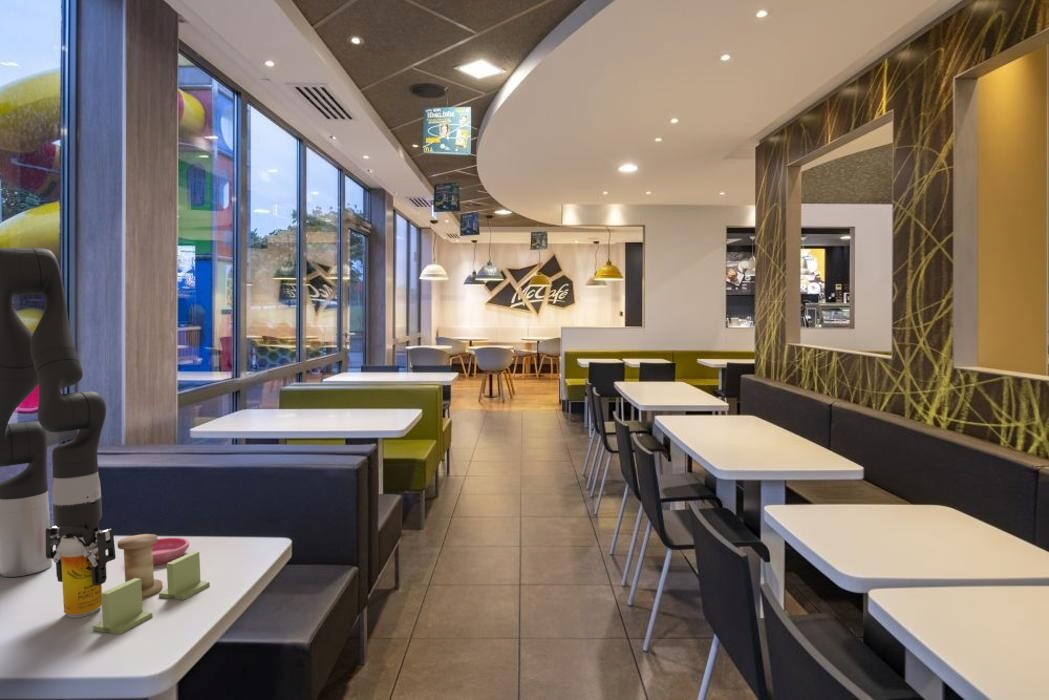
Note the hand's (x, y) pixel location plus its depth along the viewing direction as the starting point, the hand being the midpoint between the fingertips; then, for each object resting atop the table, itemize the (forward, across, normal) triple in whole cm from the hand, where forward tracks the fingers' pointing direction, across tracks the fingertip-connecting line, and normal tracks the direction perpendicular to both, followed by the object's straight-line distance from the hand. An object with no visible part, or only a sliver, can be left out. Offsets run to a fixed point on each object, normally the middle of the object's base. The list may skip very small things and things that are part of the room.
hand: (81, 582), depth 124 cm
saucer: (+6, -9, +27) cm, 29 cm away
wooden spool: (+6, +3, +10) cm, 12 cm away
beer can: (+6, 0, 0) cm, 6 cm away
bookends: (+6, +12, +5) cm, 14 cm away
